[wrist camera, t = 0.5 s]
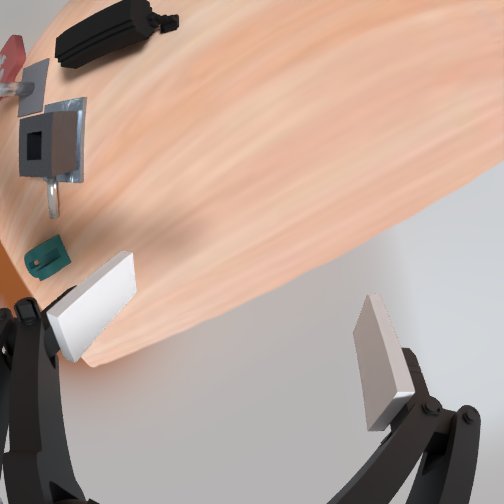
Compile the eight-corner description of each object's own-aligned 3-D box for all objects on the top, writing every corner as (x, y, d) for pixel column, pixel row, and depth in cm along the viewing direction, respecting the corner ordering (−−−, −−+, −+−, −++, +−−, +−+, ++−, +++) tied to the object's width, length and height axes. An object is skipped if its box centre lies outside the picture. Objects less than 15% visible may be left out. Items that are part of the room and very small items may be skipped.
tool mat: (25, 68, 35) (23, 68, 34) (49, 58, 34) (47, 58, 33) (19, 116, 40) (17, 117, 39) (42, 111, 39) (40, 111, 38)
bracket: (59, 233, 50) (35, 247, 43) (71, 261, 52) (49, 277, 45) (27, 252, 55) (7, 265, 48) (37, 275, 57) (18, 289, 50)
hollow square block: (48, 105, 38) (19, 106, 31) (87, 97, 37) (56, 96, 30) (48, 209, 48) (22, 220, 40) (85, 214, 46) (58, 228, 39)
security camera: (181, 40, 32) (150, 20, 23) (89, 72, 35) (51, 67, 26) (180, 6, 29) (151, -18, 20) (90, 41, 32) (54, 32, 23)
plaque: (-12, 118, 37) (-19, 81, 33) (-2, 116, 41) (-9, 80, 37) (18, 66, 32) (12, 31, 27) (30, 67, 35) (22, 32, 31)
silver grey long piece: (29, 75, 35) (-20, 76, 22) (36, 72, 35) (-15, 72, 22) (25, 104, 38) (-25, 110, 25) (32, 102, 38) (-19, 107, 25)
